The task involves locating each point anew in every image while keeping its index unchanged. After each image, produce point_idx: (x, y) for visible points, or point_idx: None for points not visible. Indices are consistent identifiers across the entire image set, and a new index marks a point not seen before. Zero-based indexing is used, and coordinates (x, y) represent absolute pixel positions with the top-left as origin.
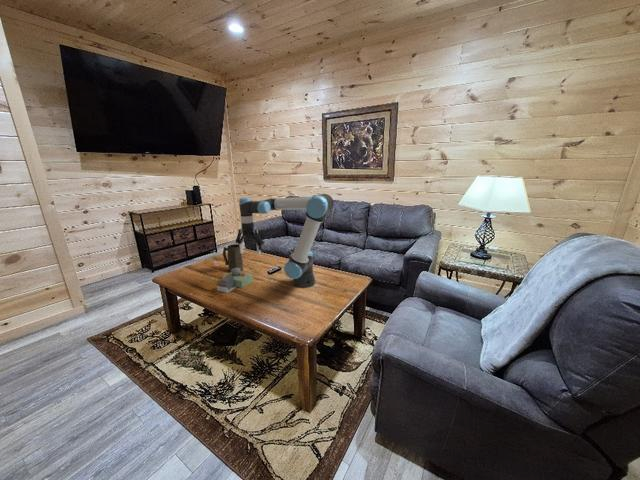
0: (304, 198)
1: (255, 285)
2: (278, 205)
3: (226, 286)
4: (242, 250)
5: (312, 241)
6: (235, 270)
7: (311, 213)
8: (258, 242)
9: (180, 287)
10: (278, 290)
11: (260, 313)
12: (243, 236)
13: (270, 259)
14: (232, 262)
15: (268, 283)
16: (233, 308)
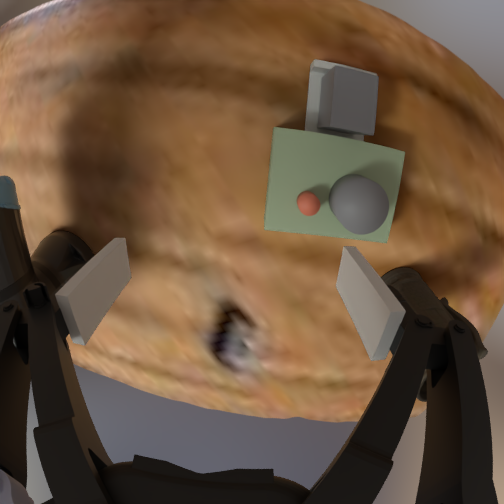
0: None
1: (223, 175)
2: None
3: (327, 72)
4: (347, 284)
5: None
6: (355, 188)
7: None
8: (31, 332)
9: (492, 98)
10: (105, 172)
11: (94, 15)
12: (344, 455)
13: (300, 404)
14: (420, 297)
15: (177, 216)
16: None
